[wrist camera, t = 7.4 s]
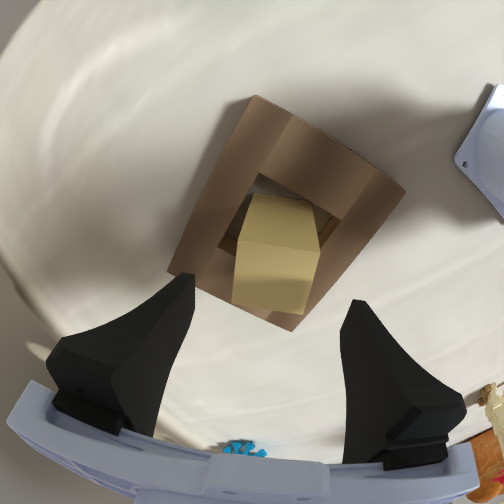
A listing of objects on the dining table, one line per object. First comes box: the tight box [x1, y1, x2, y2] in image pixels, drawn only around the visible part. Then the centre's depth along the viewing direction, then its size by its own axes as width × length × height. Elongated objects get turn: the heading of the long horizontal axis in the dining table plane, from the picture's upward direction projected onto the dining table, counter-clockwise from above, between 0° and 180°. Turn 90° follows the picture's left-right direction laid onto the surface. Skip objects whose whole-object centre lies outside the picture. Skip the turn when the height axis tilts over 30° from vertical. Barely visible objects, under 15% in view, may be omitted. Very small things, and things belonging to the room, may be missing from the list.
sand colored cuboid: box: [231, 193, 320, 315], centre depth 18 cm, size 4×4×7 cm
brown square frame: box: [167, 95, 406, 332], centre depth 20 cm, size 11×14×2 cm
